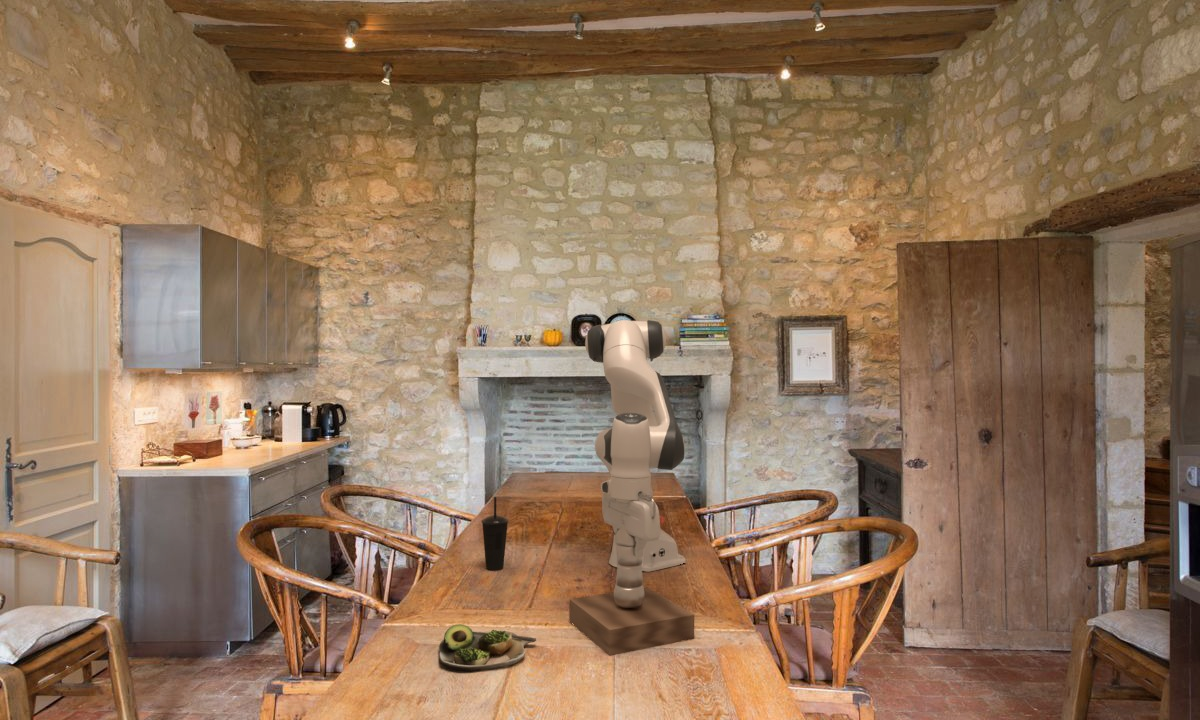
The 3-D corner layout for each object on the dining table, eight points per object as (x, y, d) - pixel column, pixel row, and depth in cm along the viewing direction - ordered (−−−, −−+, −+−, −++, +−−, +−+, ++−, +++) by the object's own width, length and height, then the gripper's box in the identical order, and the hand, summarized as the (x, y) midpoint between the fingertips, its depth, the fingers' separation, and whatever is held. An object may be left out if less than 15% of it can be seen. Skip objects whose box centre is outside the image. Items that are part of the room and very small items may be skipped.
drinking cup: (513, 566, 197) (513, 495, 197) (500, 573, 190) (501, 500, 190) (489, 563, 200) (489, 494, 200) (475, 570, 192) (476, 498, 193)
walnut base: (646, 608, 164) (647, 587, 164) (694, 638, 146) (694, 614, 146) (569, 621, 155) (569, 599, 155) (609, 655, 137) (609, 630, 137)
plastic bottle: (613, 601, 154) (614, 511, 154) (644, 601, 153) (644, 511, 154) (613, 611, 147) (614, 517, 147) (645, 612, 147) (646, 517, 147)
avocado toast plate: (531, 632, 149) (531, 611, 149) (542, 668, 132) (543, 644, 132) (439, 640, 145) (439, 618, 145) (438, 678, 127) (438, 652, 127)
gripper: (668, 495, 142) (667, 563, 142) (621, 480, 161) (621, 540, 161) (641, 498, 140) (640, 566, 140) (597, 482, 158) (596, 543, 158)
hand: (630, 552), depth 150 cm, fingers open, 6 cm apart
